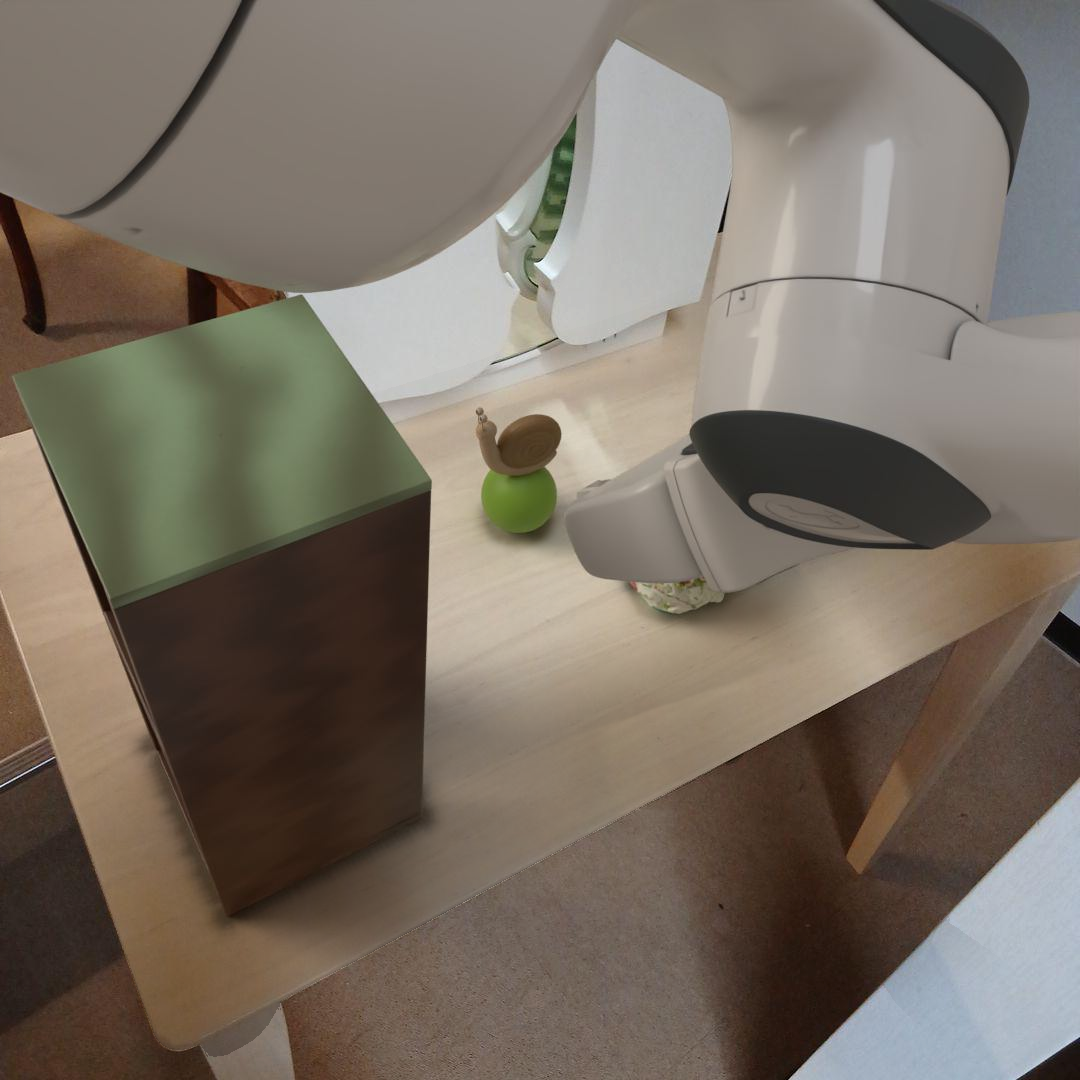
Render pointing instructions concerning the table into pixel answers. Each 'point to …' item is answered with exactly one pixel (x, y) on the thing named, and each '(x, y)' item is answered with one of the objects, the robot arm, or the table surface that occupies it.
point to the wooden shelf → (253, 580)
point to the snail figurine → (519, 471)
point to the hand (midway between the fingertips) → (650, 464)
